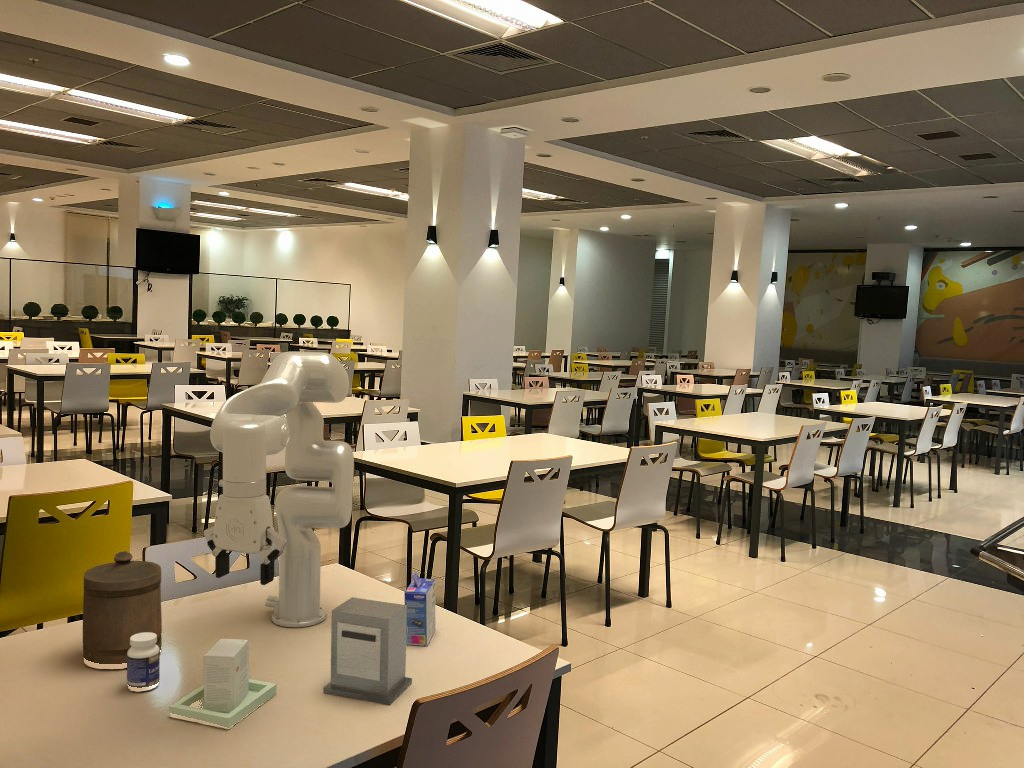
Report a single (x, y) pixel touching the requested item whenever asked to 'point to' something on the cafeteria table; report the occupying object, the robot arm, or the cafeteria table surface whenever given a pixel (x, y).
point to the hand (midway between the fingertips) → (244, 579)
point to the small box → (226, 675)
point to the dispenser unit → (368, 651)
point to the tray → (252, 700)
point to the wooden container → (120, 607)
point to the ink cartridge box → (420, 611)
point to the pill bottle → (143, 660)
